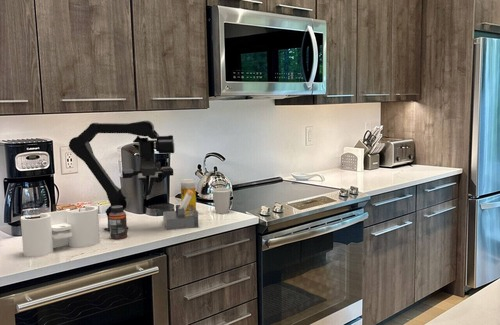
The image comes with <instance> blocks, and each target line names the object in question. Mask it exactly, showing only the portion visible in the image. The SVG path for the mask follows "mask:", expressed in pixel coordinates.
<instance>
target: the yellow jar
mask: <svg viewBox="0 0 500 325" xmlns="http://www.w3.org/2000/svg"><path fill="white" fill-rule="evenodd" d="M188 189H189V190H191V191H192V192H193V195H192V197H191V199H190V201H189V203H188V205H187V208H186V210H189V205H193V206H194V207H195V209H196V210H197V197H196V195H197V194H196V181H195V179H193V178H183V179H181V182H180V195H181V196H180V197H181V198H180V202H182V201H183V199H184V197H185V195H186V193H187V191H188Z"/></svg>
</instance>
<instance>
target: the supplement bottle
mask: <svg viewBox="0 0 500 325" xmlns="http://www.w3.org/2000/svg"><path fill="white" fill-rule="evenodd" d="M127 221H128V220H127V213H126V212H125V211H123V206H120V205H118V206H112V207H111V213H110V214H109V224H110V231H109V234H110V238H111V239H114V240H121V239H125V238H127V236H128V229H127V227H128V222H127Z"/></svg>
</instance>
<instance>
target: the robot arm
mask: <svg viewBox="0 0 500 325" xmlns="http://www.w3.org/2000/svg"><path fill="white" fill-rule="evenodd" d="M97 134H128V135H134V136H136V137H135V139H134V140H133V141H132V142H133V143H138V155H139V156H138V157H139V169H138V170H134V169H133V168H124V169H122V173H121V176H122V179H131V178H133V177H134V176H135V177H136V176H137V178H138V180H141V182H142V183H143V186H144V188H145V190H146V194H147V196H150V195H151V193H152V189H153V185H154V183H155V181H156V179H159V175H163V176H165V177H167V176H168V177H169V176H174V168H173V167H172V166H162V167H161V165H162V164H161V161H156V159H155V158H156V156H155V155H156V154H155V151H156V152H158V154H164V155H166V154H174V153H175V141H174V135H172V134H169V135H160V134H159V133H157V130H155V125H154V124H153V123H152V121H150V120H142V121H141V120H139V121H136V122H130V123H124V122H123V123H120V122H119V123H116V122H115V123H113V122H112V123H111V122H110V123H109V122H108V123H107V122H105V123H101V122H92V123H90V124H89V125H88V126H87V128H85V129H84V130H83V131H82V132H81V133H80V134H79V135H78V136H75V137H72V138H71V139H70V140H69V143H68V148H69V150H70V151H71V152H73V154H74V155H76V157H77V158H79V159H80V160H81V161H83V162H84V163H85V165H86V166H87V167H88V169H89V170H90V172H91V173H92V175H93V176H94V177H95V180H97V182H98V183H99V185H100V186H101V187H102V189H103V190H104V191H105V193H106V196H107V200H108V202H109V203H110V206H108V208H107V209H105V214H106V217H107V227H105V228H104V230H105V231H109V232H110V224H109V214H110V213H111V207H112V206H118V205H120V206H123V211H124V210H126V208H127V207H128V205H129V203H130V197H129V196H130V194H129V193H127V192H126V190H125V188H124V186H121V187H118V186H117V185H116V184H115V183H114V181H113V179H111V177H110V175H109V174H108V173H107V171H106V169H104V167H103V166H102V164H101V163H100V162H99V160H98V159H97V158H96V156H95V153H94V151H93V148H92V146H91V143H90V142H92V141H93V139H94V138H95V137H96V136H97ZM147 177H149V178H148V179H147ZM124 212H125V211H124ZM128 229H129V227H128V226H127V230H128Z"/></svg>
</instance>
